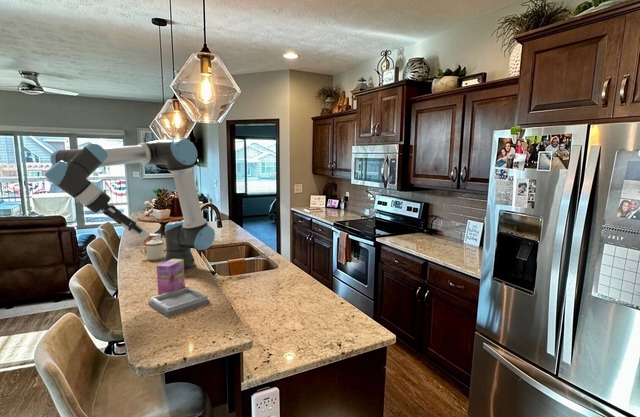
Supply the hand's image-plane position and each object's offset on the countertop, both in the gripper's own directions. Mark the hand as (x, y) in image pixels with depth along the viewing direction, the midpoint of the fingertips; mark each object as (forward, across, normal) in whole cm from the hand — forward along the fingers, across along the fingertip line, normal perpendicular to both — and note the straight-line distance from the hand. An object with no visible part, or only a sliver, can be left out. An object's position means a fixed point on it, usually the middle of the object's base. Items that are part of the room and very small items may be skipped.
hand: (141, 234), depth 133 cm
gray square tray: (+22, +17, -13) cm, 31 cm away
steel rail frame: (+21, +17, -12) cm, 30 cm away
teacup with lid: (+32, -58, -2) cm, 67 cm away
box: (+25, 0, -10) cm, 27 cm away
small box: (+36, -76, +2) cm, 84 cm away
